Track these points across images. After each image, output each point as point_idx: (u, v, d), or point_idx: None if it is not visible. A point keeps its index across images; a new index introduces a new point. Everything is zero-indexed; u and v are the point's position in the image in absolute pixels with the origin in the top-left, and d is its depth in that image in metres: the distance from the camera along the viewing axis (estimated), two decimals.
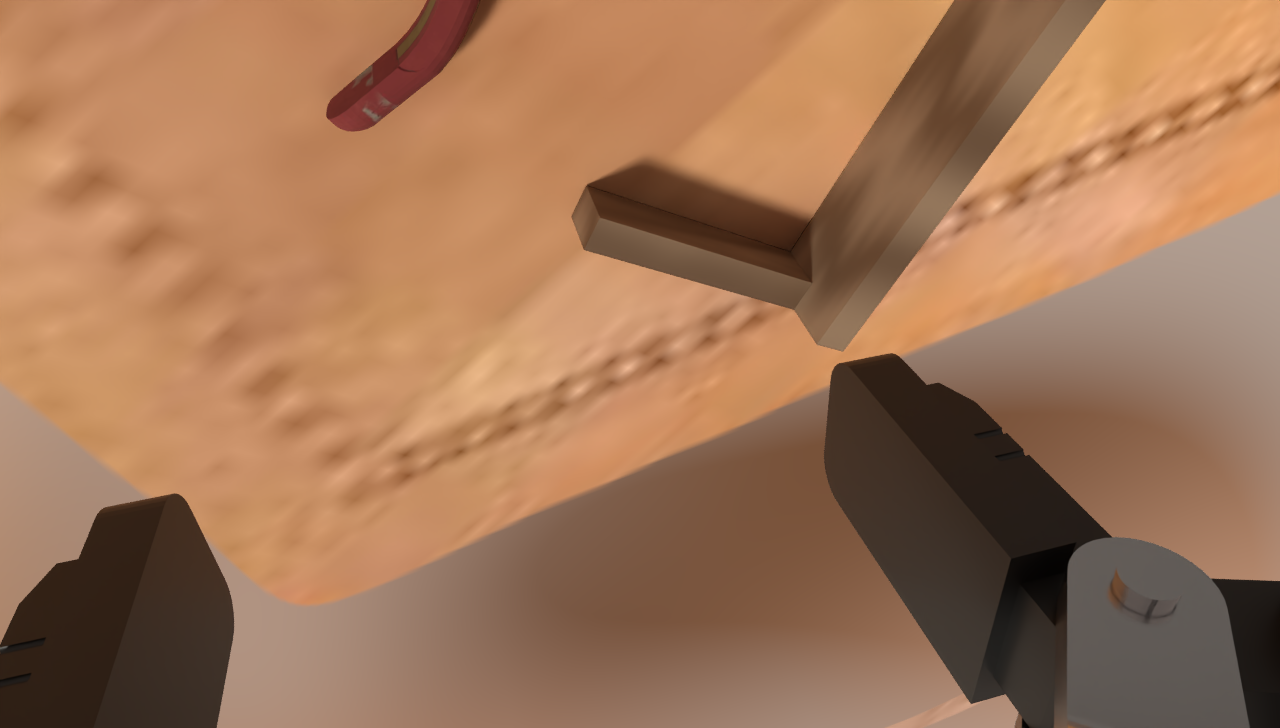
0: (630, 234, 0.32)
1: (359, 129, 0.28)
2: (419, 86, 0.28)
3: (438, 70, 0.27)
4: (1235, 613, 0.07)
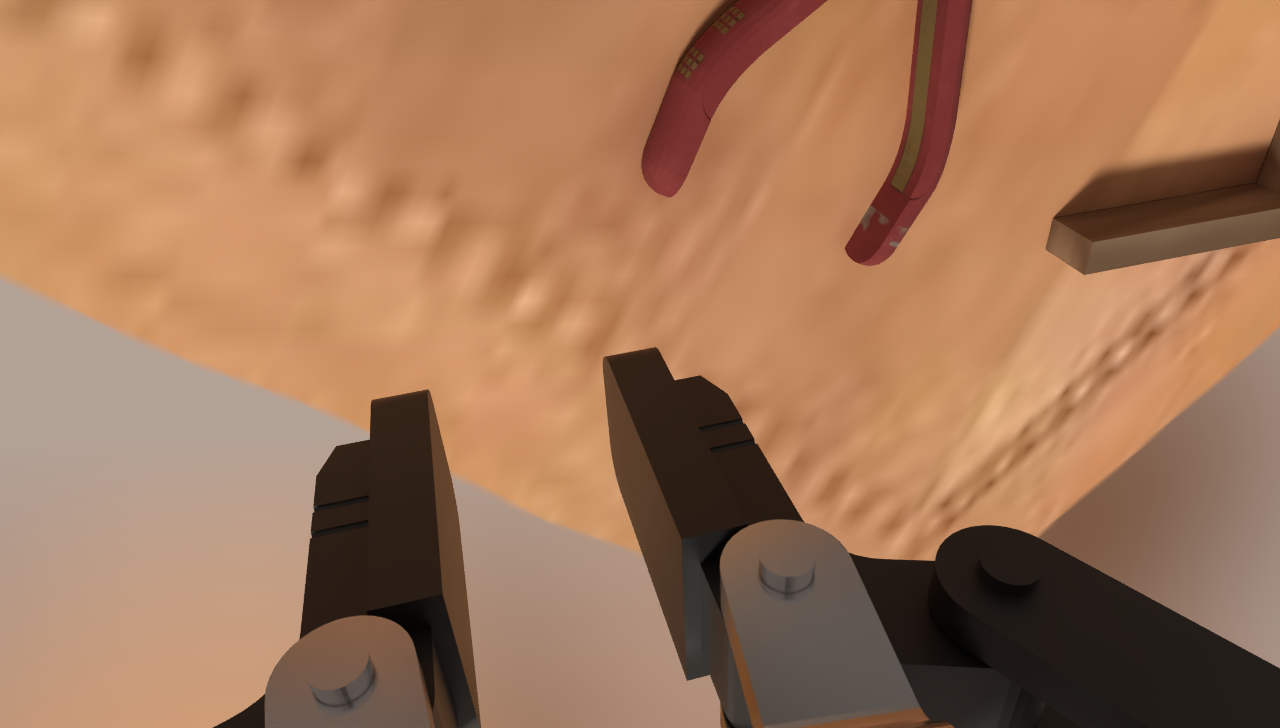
0: (1122, 243, 0.35)
1: (885, 259, 0.33)
2: (924, 204, 0.32)
3: (936, 185, 0.32)
4: (886, 590, 0.08)
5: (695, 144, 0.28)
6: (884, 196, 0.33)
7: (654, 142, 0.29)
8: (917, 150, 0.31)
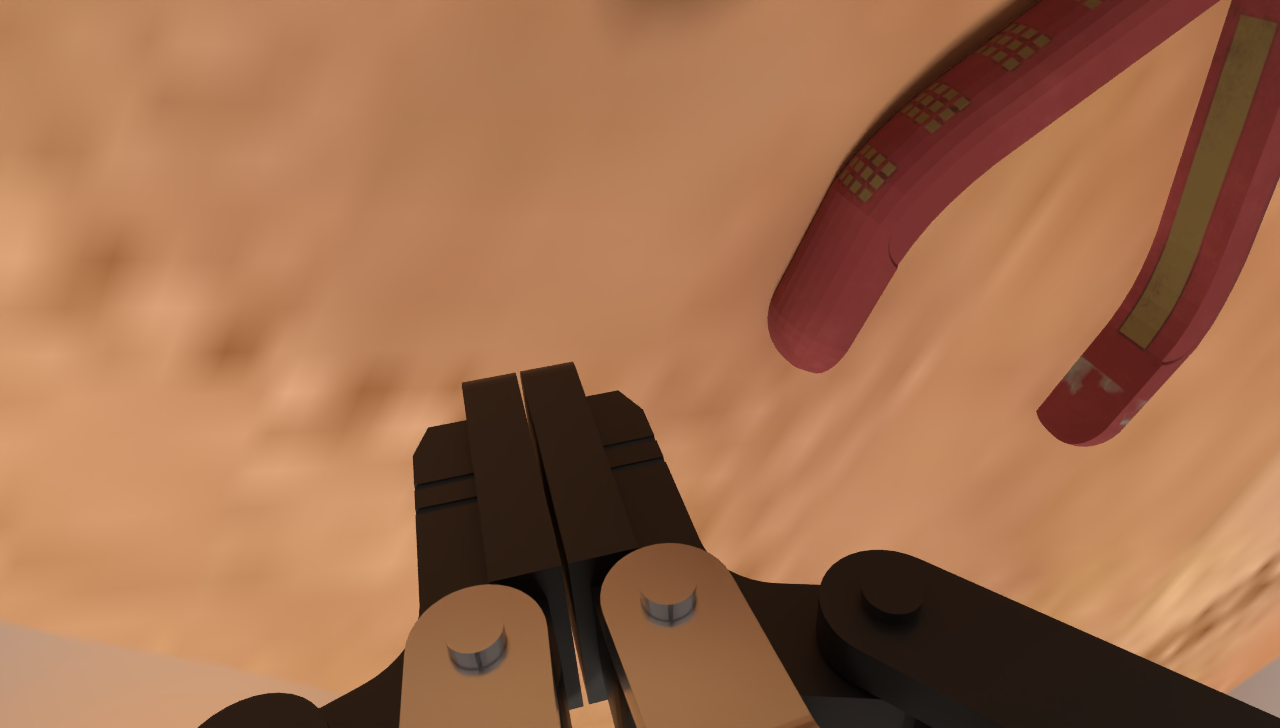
0: None
1: None
2: None
3: None
4: (774, 617, 0.08)
5: (868, 303, 0.17)
6: (1109, 348, 0.22)
7: (796, 294, 0.18)
8: (1178, 291, 0.21)
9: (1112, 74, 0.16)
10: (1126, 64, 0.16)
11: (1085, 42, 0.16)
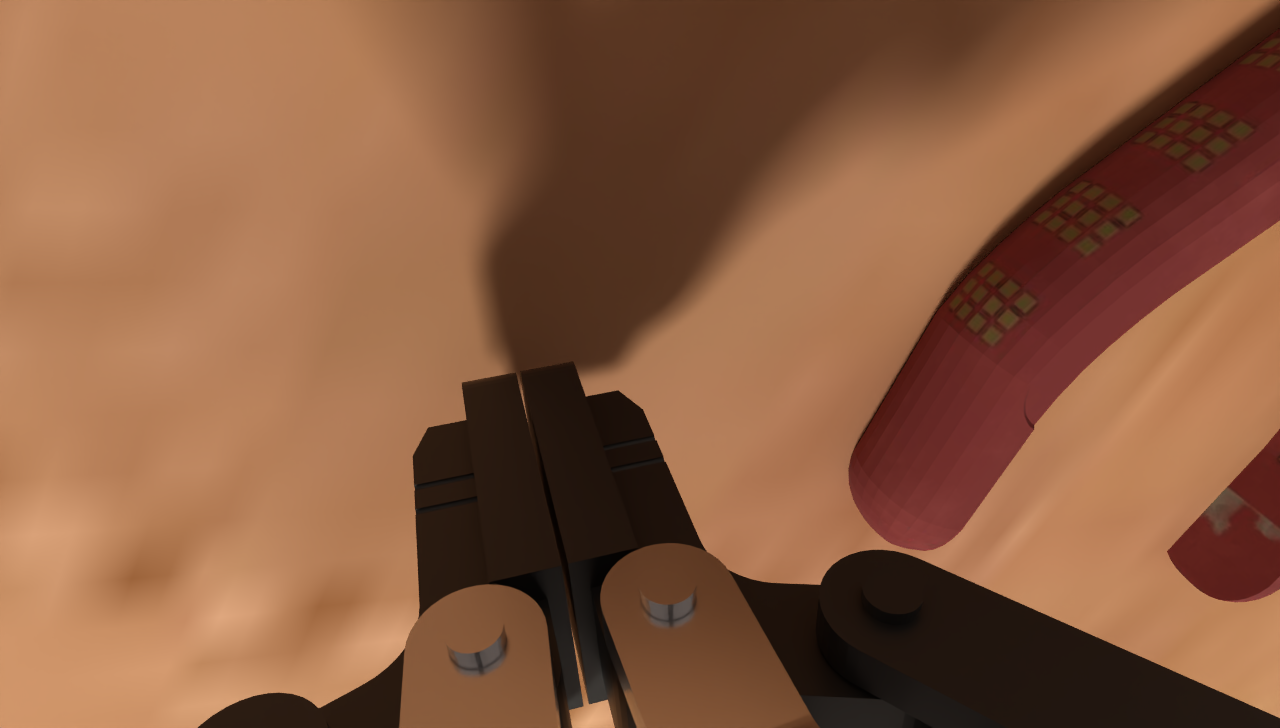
0: None
1: None
2: None
3: None
4: (774, 616, 0.08)
5: (993, 473, 0.13)
6: (1266, 481, 0.18)
7: (893, 455, 0.14)
8: None
9: None
10: None
11: None
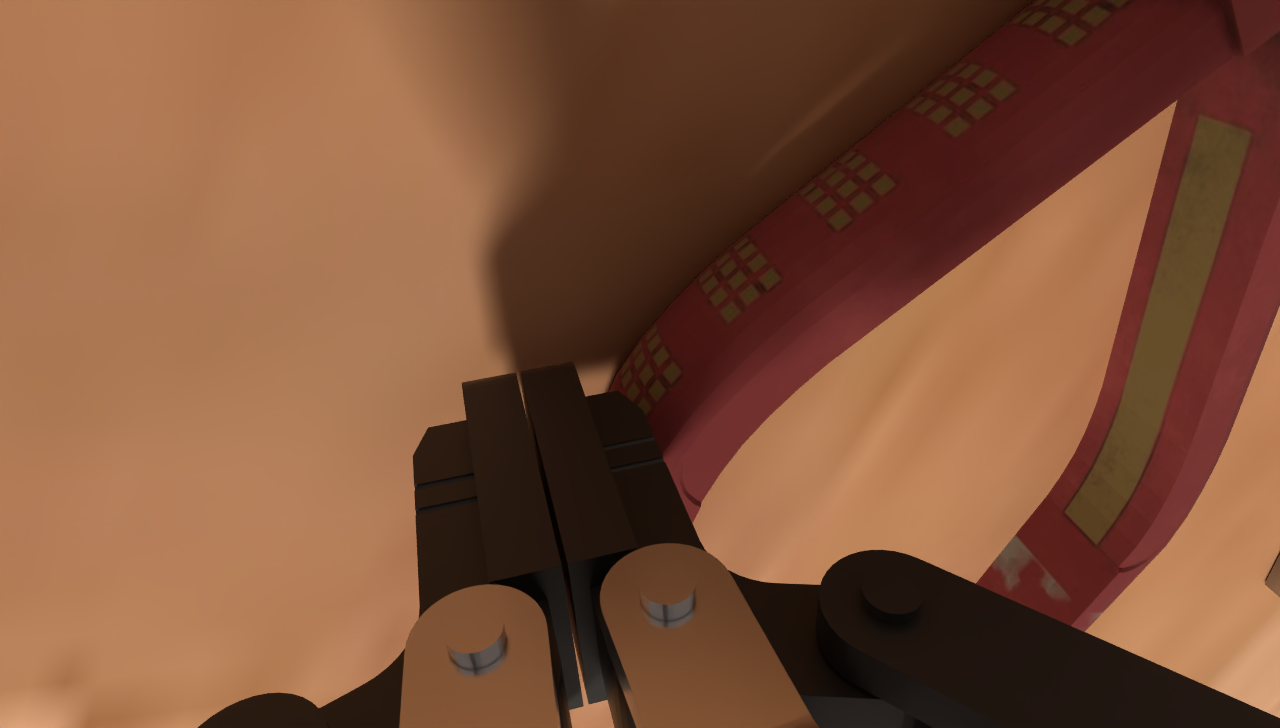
0: None
1: None
2: None
3: None
4: (773, 616, 0.08)
5: None
6: (1052, 535, 0.17)
7: None
8: (1136, 474, 0.15)
9: (995, 229, 0.11)
10: (1017, 215, 0.10)
11: (947, 189, 0.10)
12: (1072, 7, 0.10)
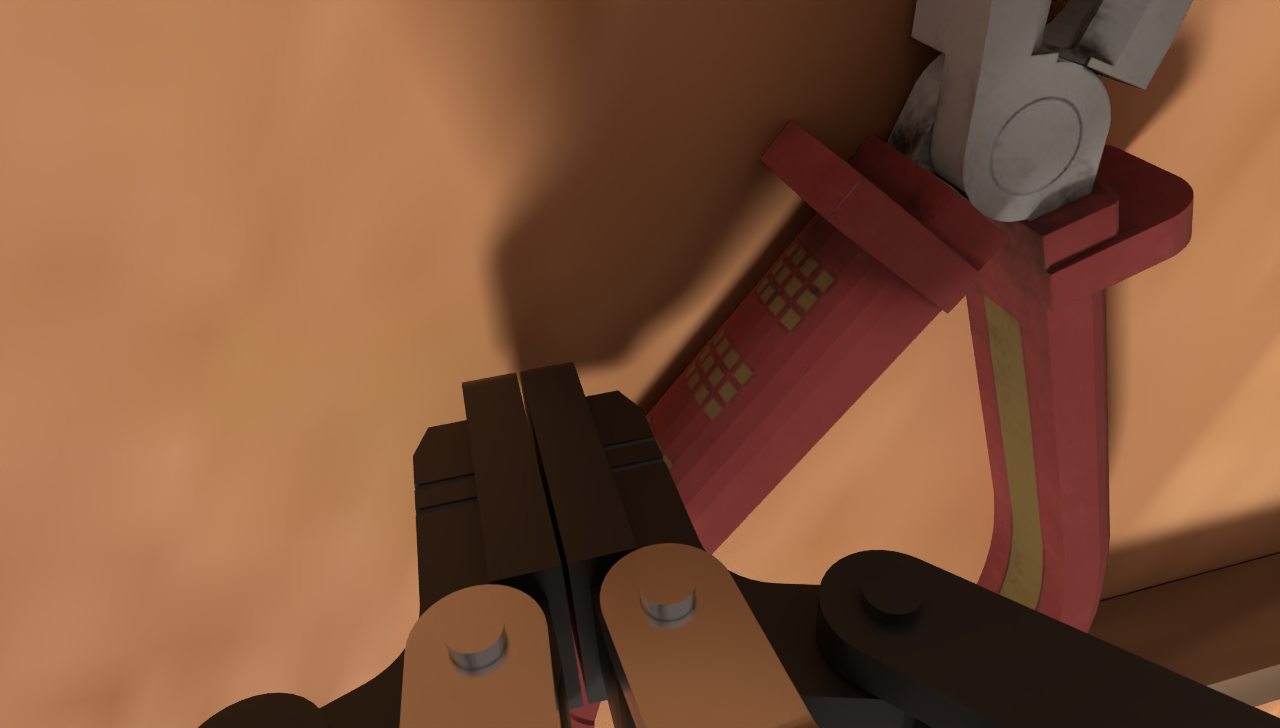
0: None
1: None
2: None
3: None
4: (774, 616, 0.08)
5: None
6: None
7: None
8: (1038, 580, 0.16)
9: (772, 481, 0.12)
10: (787, 467, 0.12)
11: (712, 467, 0.12)
12: (791, 288, 0.11)
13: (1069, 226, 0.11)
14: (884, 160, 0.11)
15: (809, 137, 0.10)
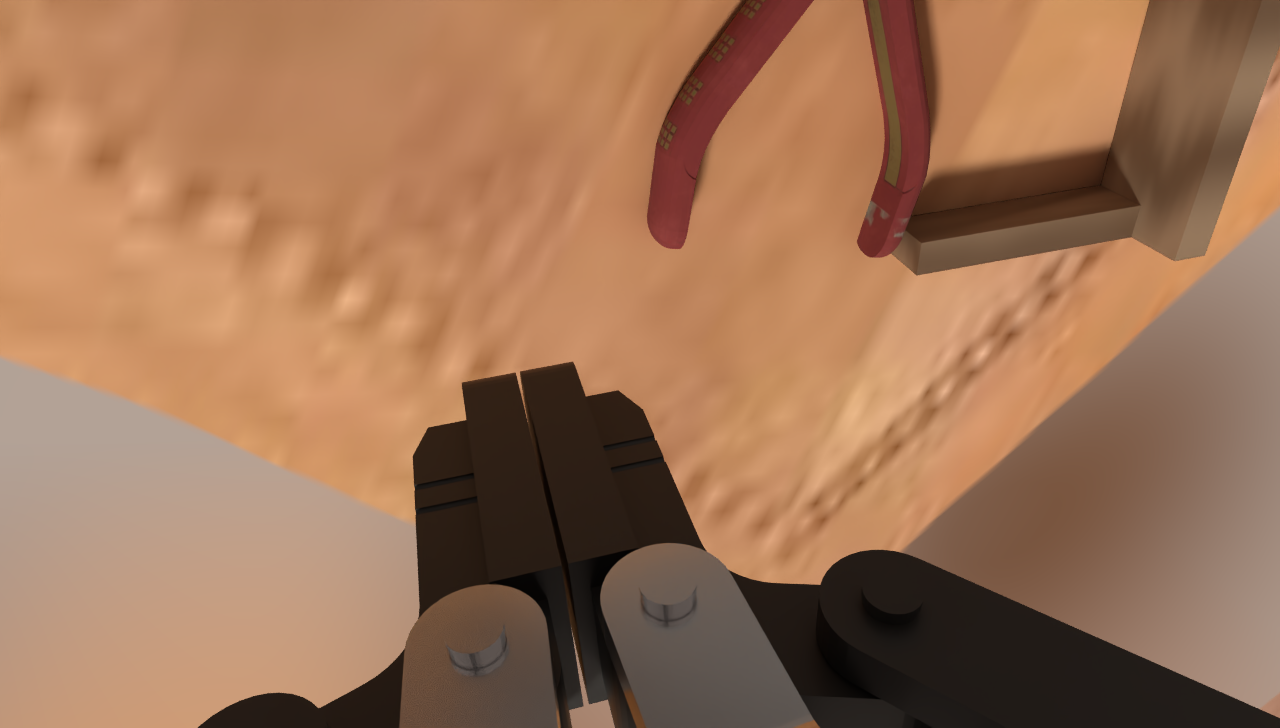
0: (952, 244, 0.35)
1: None
2: (919, 192, 0.34)
3: (926, 173, 0.34)
4: (774, 616, 0.08)
5: (688, 203, 0.32)
6: (881, 191, 0.35)
7: (653, 207, 0.32)
8: (900, 147, 0.33)
9: (775, 47, 0.29)
10: (781, 40, 0.29)
11: (751, 37, 0.29)
12: None
13: None
14: None
15: None
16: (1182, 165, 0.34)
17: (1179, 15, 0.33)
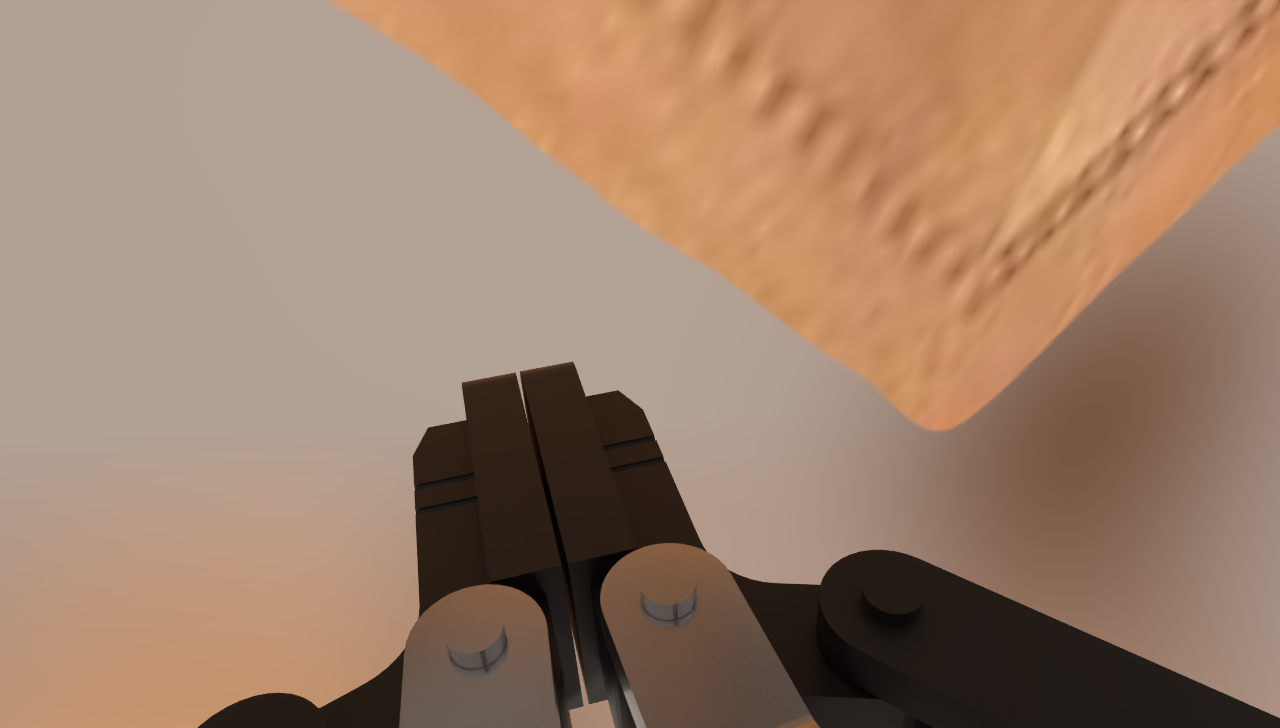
0: None
1: None
2: None
3: None
4: (774, 616, 0.08)
5: None
6: None
7: None
8: None
9: None
10: None
11: None
12: None
13: None
14: None
15: None
16: None
17: None
